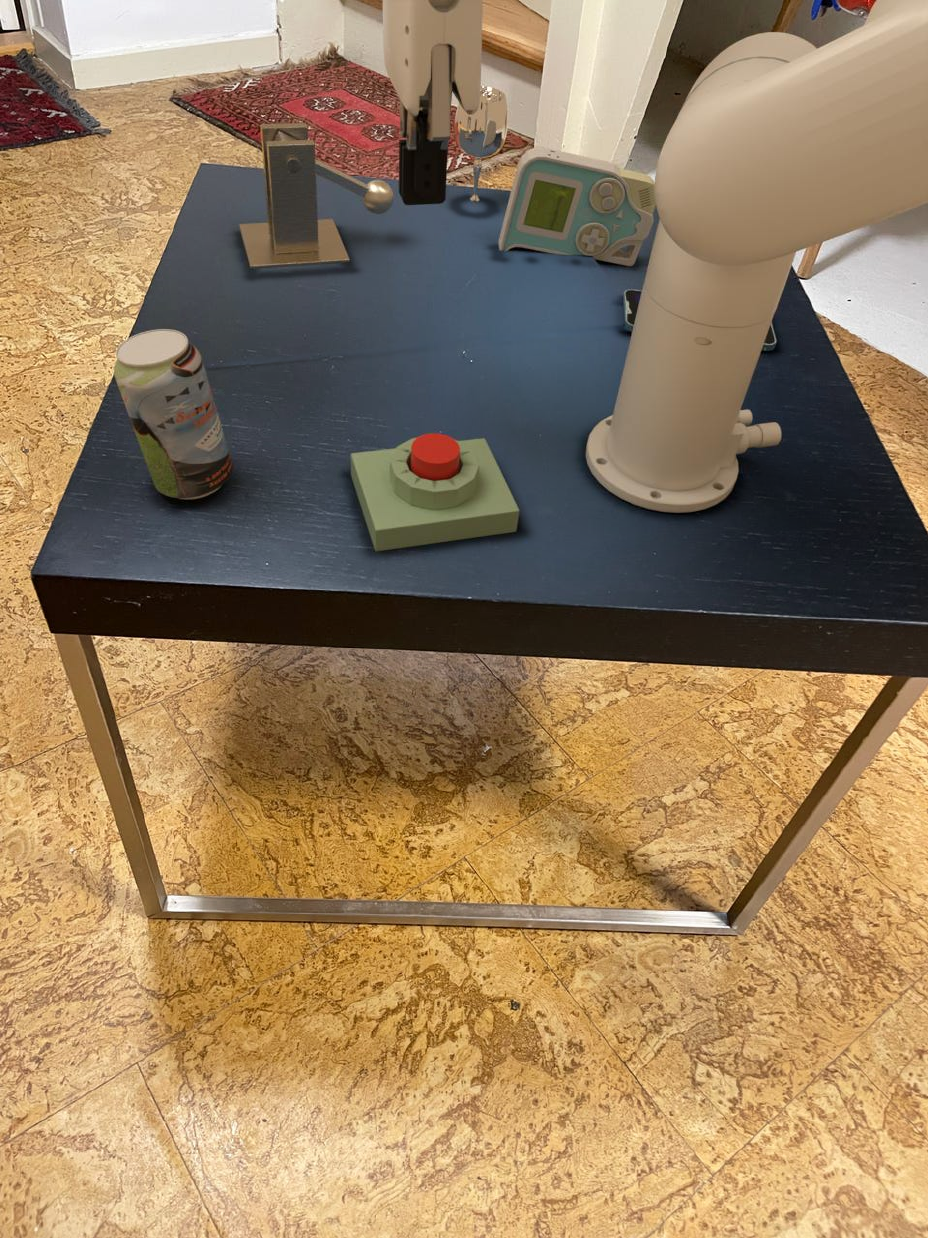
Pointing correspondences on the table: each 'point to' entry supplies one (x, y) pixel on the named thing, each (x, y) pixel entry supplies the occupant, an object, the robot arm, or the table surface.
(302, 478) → the table surface
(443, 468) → the button
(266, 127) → the lever stand
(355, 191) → the tap lever
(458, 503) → the button box
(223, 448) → the beverage can
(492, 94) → the wineglass
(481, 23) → the robot arm
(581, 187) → the handheld gaming console
